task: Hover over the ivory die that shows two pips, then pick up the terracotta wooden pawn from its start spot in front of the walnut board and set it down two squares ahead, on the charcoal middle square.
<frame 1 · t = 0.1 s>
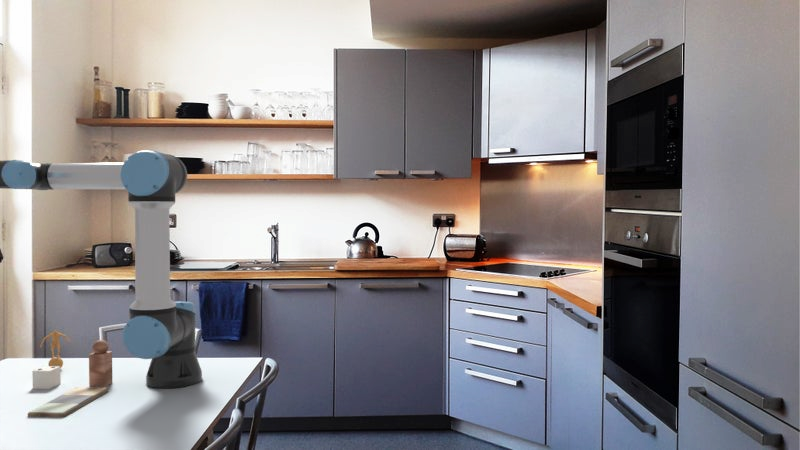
figurine: (55, 369, 200), on the table
die: (46, 386, 182), on the table
pawn: (101, 384, 183), on the table
board: (70, 403, 165), on the table
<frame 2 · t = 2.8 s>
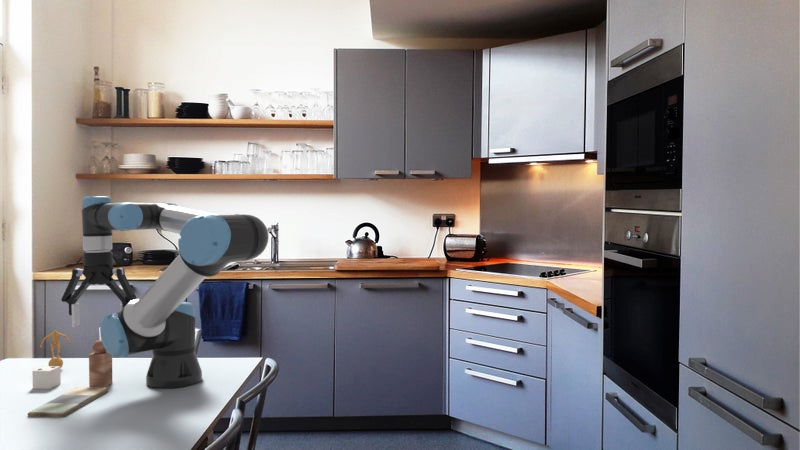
hand: (99, 326, 182), 16 cm above the table, tool pointing down, fingers open, 13 cm apart
nothing on the table moved.
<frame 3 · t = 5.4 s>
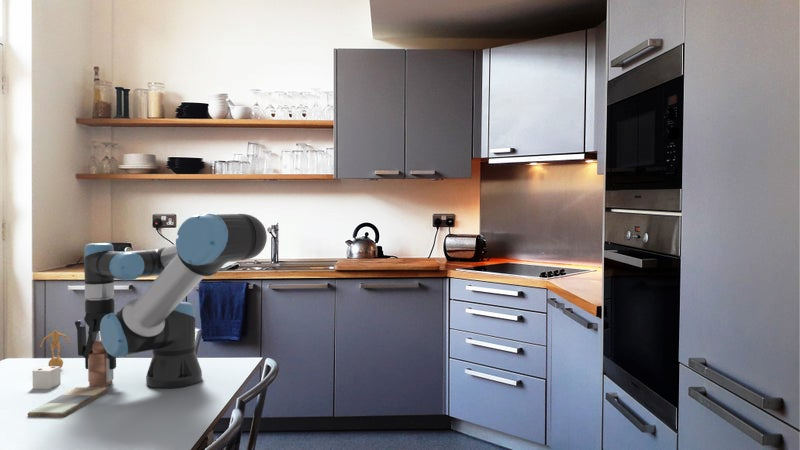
hand: (101, 380, 183), 1 cm above the table, tool pointing down, fingers closed on pawn, 4 cm apart
pawn: (101, 384, 183), on the table, touching gripper
everything else where it was.
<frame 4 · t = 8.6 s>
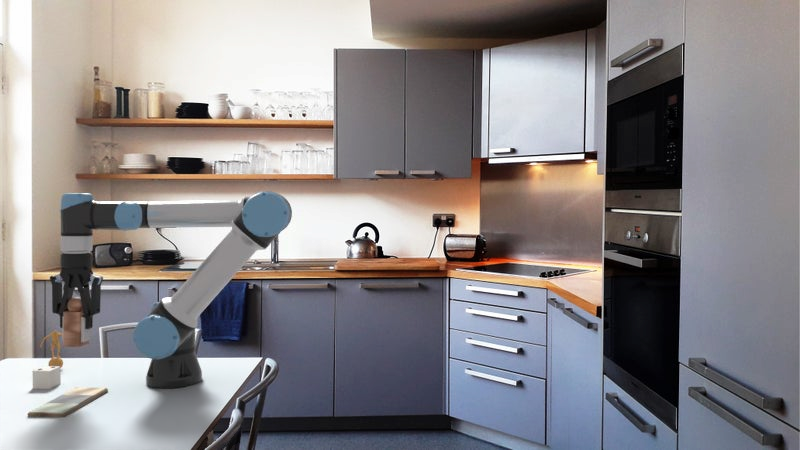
hand: (76, 340, 170), 15 cm above the table, tool pointing down, fingers closed on pawn, 4 cm apart
pawn: (76, 345, 170), point 14 cm above the table, touching gripper
everything else where it was.
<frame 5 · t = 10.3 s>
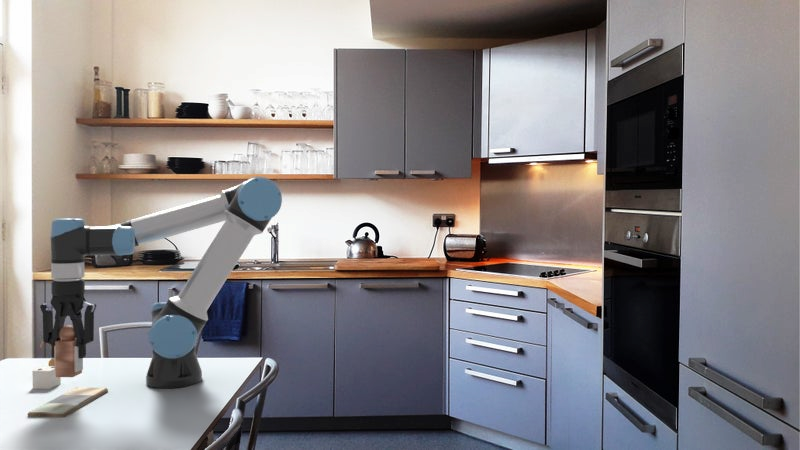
hand: (68, 370, 165), 9 cm above the table, tool pointing down, fingers closed on pawn, 4 cm apart
pawn: (68, 374, 165), point 7 cm above the table, touching gripper
everything else where it was.
when the fingers open (3 cm above the table, at t = 11.9 s): pawn stays where it is, resting on board.
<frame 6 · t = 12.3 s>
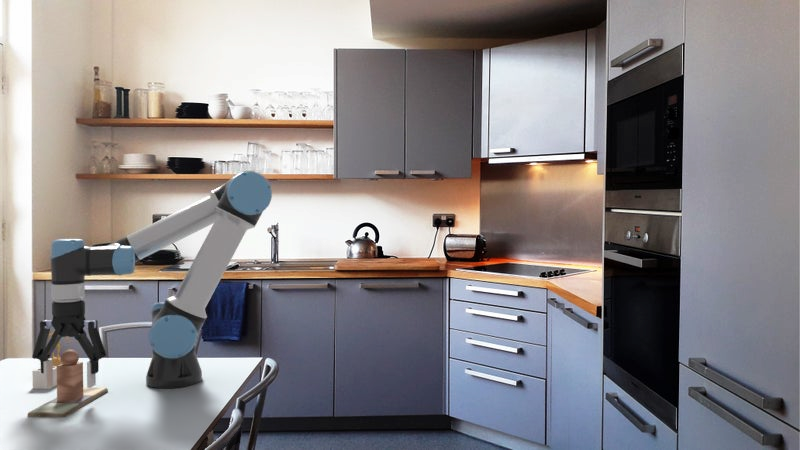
hand: (70, 386, 165), 4 cm above the table, tool pointing down, fingers open, 10 cm apart
pawn: (70, 399, 165), point 1 cm above the table, touching board
everything else where it was.
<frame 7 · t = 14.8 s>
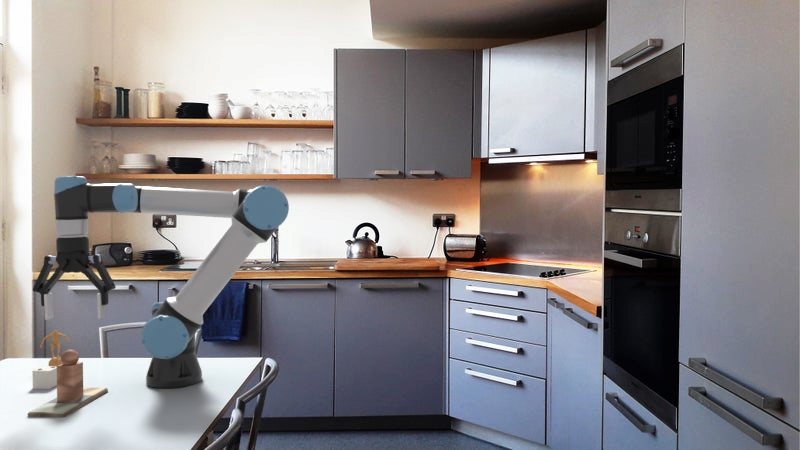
hand: (75, 318, 168), 21 cm above the table, tool pointing down, fingers open, 13 cm apart
nothing on the table moved.
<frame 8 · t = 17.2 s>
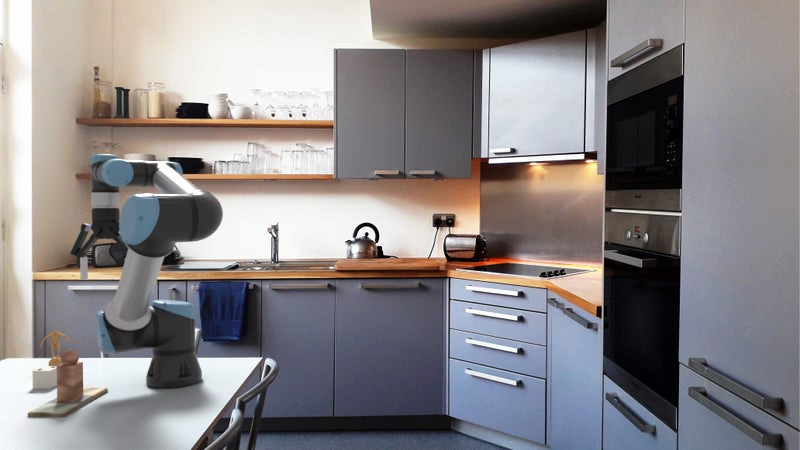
hand: (106, 279, 191), 29 cm above the table, tool pointing down, fingers open, 13 cm apart
nothing on the table moved.
at the end: pawn 0.1 cm off-centre on the board, point 1.1 cm above the board's base; pawn tilted 0°; the gripper is holding nothing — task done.
